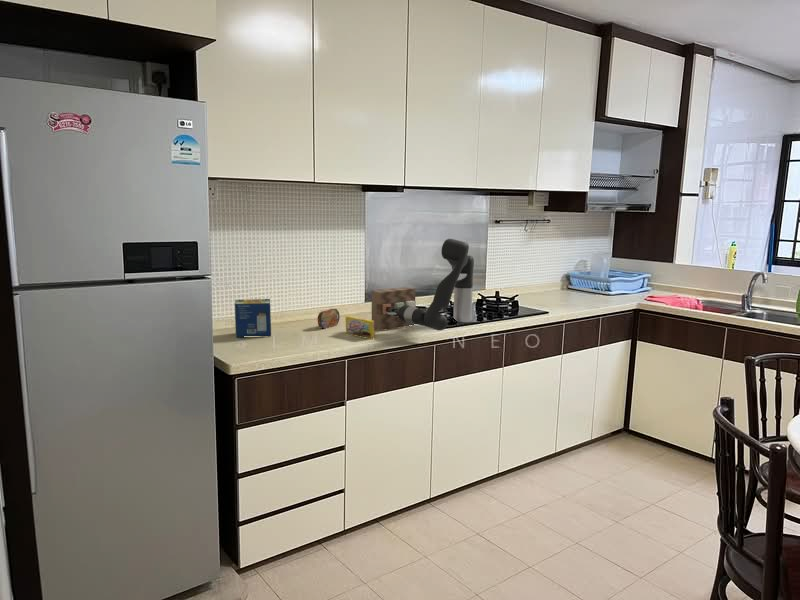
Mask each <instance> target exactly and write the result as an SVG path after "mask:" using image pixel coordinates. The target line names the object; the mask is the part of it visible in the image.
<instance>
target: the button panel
mask: <svg viewBox="0 0 800 600" xmlns="http://www.w3.org/2000/svg"><path fill="white" fill-rule="evenodd" d="M411 300H412V301H416V288H414V287H410V286H409V287H408V286H403V287H402V286H401V287H393V288H384V289H375V290H374V289H373V290H371V320H373V321H374V330H377V329H378V330H377V331H380V330H381V331H385V329H387V330H393V329H398V327H400V328H405V327H404V326H406V327H410V326H409V325H412V326H415V325H414V324H411V323H407V322H403V321H401V320H400V319H399V317H396V316H394V315H393V314H392V316H388V314H382V304H387V303H389V304H391V307H393V308H394V303H396V302H403V303H404V305H406V301H411ZM392 328H393V329H392Z"/></svg>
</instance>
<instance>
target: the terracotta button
mask: <svg viewBox="0 0 800 600" xmlns="http://www.w3.org/2000/svg"><path fill="white" fill-rule="evenodd" d="M386 307H391V304H389V303H387V304H382V314H388V312H387V311H386Z"/></svg>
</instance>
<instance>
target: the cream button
mask: <svg viewBox="0 0 800 600" xmlns="http://www.w3.org/2000/svg"><path fill="white" fill-rule="evenodd" d="M416 304H417V302H416V300H415V301H412V300H411V301H406V305H408V306H412V307H416V306H417V305H416Z"/></svg>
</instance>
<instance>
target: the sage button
mask: <svg viewBox="0 0 800 600" xmlns="http://www.w3.org/2000/svg"><path fill="white" fill-rule="evenodd" d="M402 306H404V303H403V302H396V303H394V307H395V308H397V307H402Z"/></svg>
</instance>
